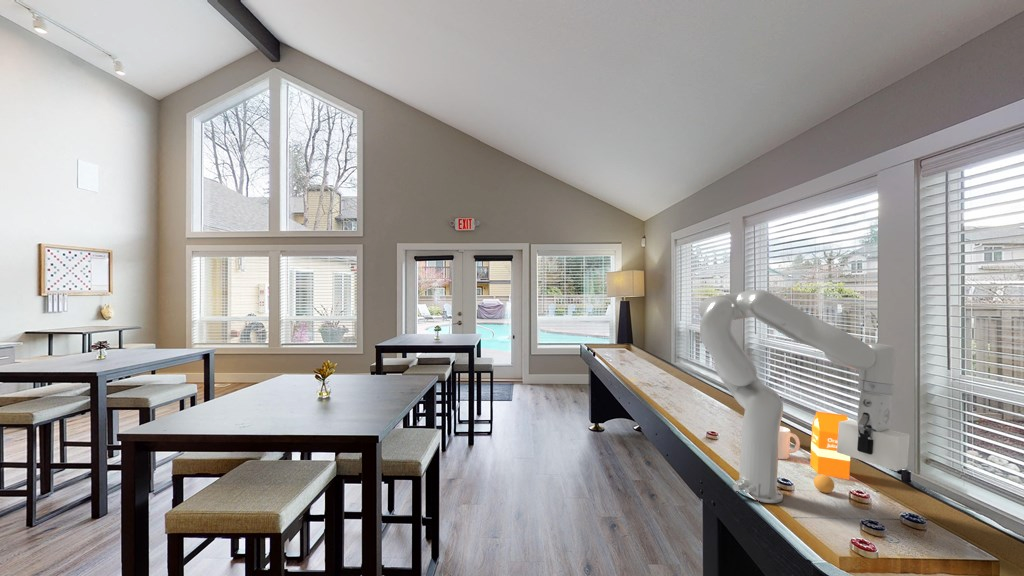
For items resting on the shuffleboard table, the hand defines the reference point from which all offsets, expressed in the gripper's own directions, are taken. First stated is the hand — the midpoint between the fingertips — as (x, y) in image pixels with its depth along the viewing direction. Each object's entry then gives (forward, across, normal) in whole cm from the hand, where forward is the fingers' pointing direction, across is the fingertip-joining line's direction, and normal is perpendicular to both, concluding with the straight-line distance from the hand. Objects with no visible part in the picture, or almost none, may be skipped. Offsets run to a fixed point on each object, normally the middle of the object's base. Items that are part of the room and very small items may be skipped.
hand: (871, 450), depth 117 cm
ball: (+14, +1, +11) cm, 18 cm away
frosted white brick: (+3, 0, 0) cm, 3 cm away
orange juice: (+17, +20, +17) cm, 31 cm away
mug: (+17, +20, +32) cm, 41 cm away
